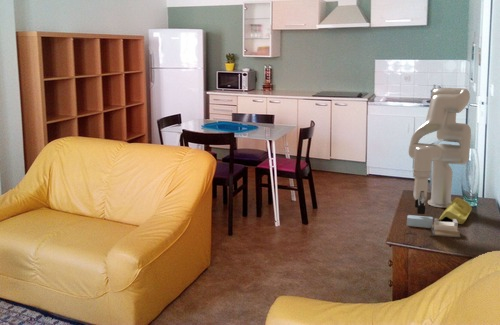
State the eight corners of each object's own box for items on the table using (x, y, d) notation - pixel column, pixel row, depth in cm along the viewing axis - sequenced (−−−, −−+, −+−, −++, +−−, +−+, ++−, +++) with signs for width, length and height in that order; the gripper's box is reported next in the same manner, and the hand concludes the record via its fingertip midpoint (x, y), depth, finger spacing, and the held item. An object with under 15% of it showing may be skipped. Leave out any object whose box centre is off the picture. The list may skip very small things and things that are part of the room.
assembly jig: (430, 227, 232) (430, 222, 232) (456, 229, 230) (456, 223, 229) (433, 235, 223) (433, 230, 222) (460, 237, 220) (460, 231, 220)
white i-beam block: (433, 228, 230) (434, 217, 228) (455, 229, 227) (456, 219, 226) (435, 232, 225) (435, 221, 224) (457, 233, 223) (457, 222, 222)
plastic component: (465, 220, 234) (445, 209, 237) (457, 233, 237) (437, 221, 241) (473, 206, 250) (454, 195, 253) (465, 217, 253) (447, 206, 257)
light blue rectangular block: (407, 223, 240) (407, 214, 239) (432, 225, 236) (432, 217, 235) (406, 226, 236) (407, 217, 235) (432, 228, 232) (432, 220, 231)
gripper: (411, 169, 239) (409, 205, 243) (415, 177, 223) (413, 215, 226) (428, 170, 238) (426, 205, 241) (433, 178, 221) (430, 216, 225)
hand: (419, 210), depth 234 cm, fingers open, 9 cm apart
